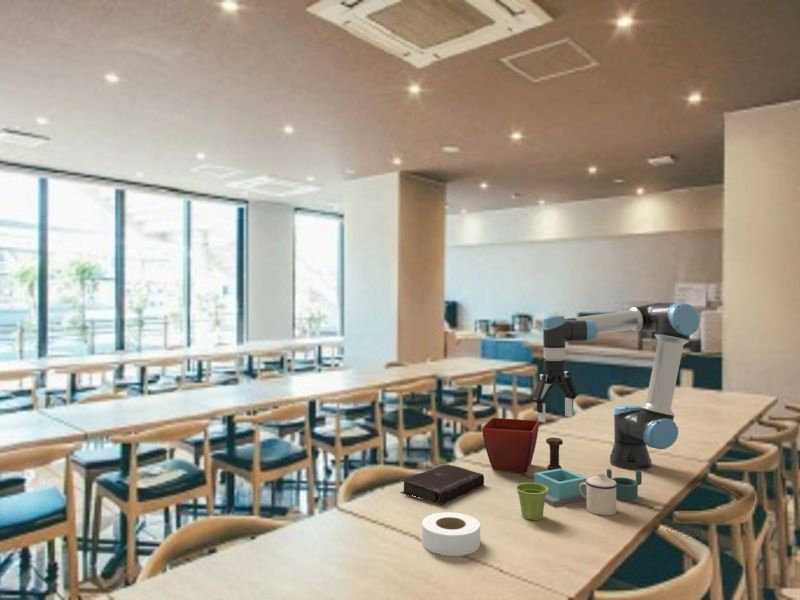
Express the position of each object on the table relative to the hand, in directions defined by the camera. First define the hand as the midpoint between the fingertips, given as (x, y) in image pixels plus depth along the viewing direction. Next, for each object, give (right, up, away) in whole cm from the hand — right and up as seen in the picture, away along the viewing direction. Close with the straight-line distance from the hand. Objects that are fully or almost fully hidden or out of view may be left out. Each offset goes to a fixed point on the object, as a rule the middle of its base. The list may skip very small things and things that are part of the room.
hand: (555, 419), depth 195 cm
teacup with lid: (+6, -23, -24) cm, 34 cm away
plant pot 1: (-12, -23, +18) cm, 32 cm away
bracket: (+19, -23, -13) cm, 32 cm away
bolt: (0, -23, +2) cm, 23 cm away
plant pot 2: (-16, -23, -30) cm, 41 cm away
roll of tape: (-42, -24, -47) cm, 67 cm away
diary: (-41, -24, -5) cm, 47 cm away
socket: (-2, -23, -12) cm, 26 cm away
